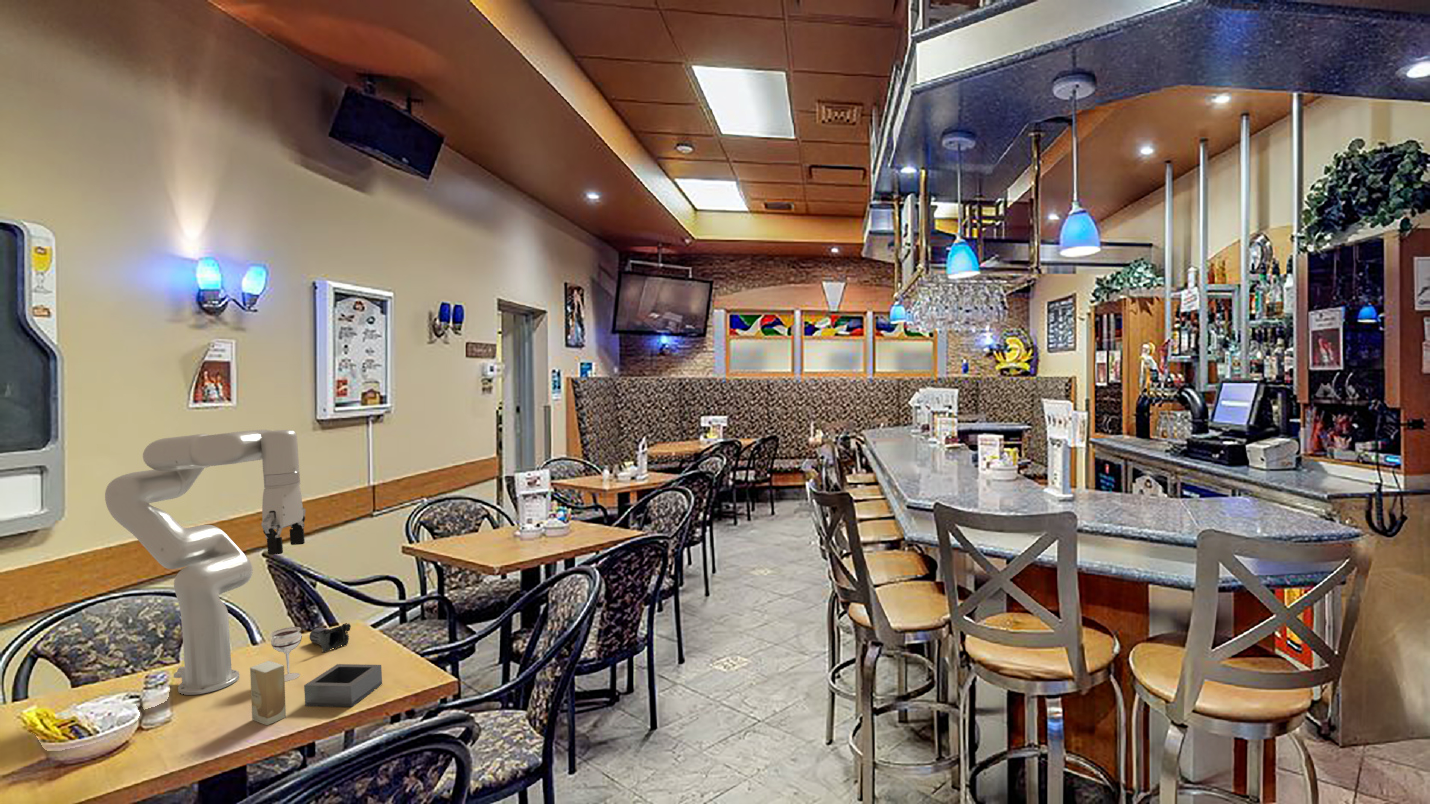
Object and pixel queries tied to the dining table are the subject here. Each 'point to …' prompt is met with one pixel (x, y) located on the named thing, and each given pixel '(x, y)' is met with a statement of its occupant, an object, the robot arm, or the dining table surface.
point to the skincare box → (268, 692)
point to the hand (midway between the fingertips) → (286, 549)
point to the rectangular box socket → (343, 685)
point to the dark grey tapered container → (330, 636)
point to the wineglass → (287, 645)
